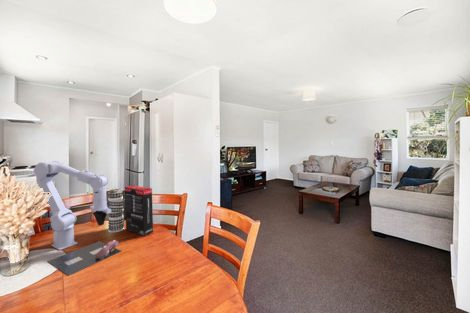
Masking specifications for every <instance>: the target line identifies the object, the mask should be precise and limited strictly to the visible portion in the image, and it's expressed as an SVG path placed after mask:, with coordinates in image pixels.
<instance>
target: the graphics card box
mask: <svg viewBox="0 0 470 313" xmlns="http://www.w3.org/2000/svg"><path fill="white" fill-rule="evenodd" d="M124 208H125V209H124V210H125V230H126V231H127V232H128V231H129V232H131V233H134V234H137V235H140V236H143V237H145V236H147V235H150V234H151V233H153V232H154V222H153V220H154V217H153V188H152V187H145V186H137V185H133V184H132V185H126V186H124Z"/></svg>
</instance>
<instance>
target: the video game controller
mask: <svg viewBox="0 0 470 313" xmlns="http://www.w3.org/2000/svg"><path fill="white" fill-rule="evenodd" d="M105 244H106V245H105V246H104V247H103V248H102V249H101V250H100V251H99V252H98V253H96V255H95V258H101V257H102V256H103V255H104V256H107V255H108V254H109V252H110V253H111V252H112V251H113V250H114V249H115V248H116V249H117V247H118V245H119V241H118V240H116V239H114V240H112V241H108V242H107V243H105Z"/></svg>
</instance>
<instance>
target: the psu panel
mask: <svg viewBox="0 0 470 313" xmlns="http://www.w3.org/2000/svg"><path fill="white" fill-rule="evenodd" d="M106 244H107V243H104V242H102V241H100V240H99V241H97V242H94V243H91V244H89V245H86V246H83V247H80V248H78V249H75V250H74V251H70V252H67V253H65V254H63V255H60V256H57V257H54V258H52V259H49V260H47V262H48V264H50V265H52V266H53V267H54V268H57V269H58V270H59V271H60V272H62V273H63V274H65V275H67V276H71V275H73V274H75V273H77V272H80V271H82V270H85V269H86V268H88V267H90V266H91V267H92V265H95V264H98V263H99V262H102V261H104V260H106V259H109V258H111V257H112V256H114V255H117V254H119V253H121V252H122V250H120V249H118V248H117V247H116V248H115V249H114V250H113V251H112V252H111V253H110V252H109V254H108V255H107V256H104V255H103V256H102V257H101V258H95V255H96V253H98V252H99V251H100V250H101V249H102V248H103V247H104V246H105V245H106Z"/></svg>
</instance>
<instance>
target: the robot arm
mask: <svg viewBox="0 0 470 313" xmlns="http://www.w3.org/2000/svg"><path fill="white" fill-rule="evenodd" d="M33 172H34V174H35V178H36V184H37V186H38V187H40V188H43V190H44V192H50V193H52V196H51V197H50V199H49V201H48V203H47V205H48V204H49V205H50V206H49V205H48V208H49V209H50V212H51V213H52V214H51V217H50V218H49V220H50V226H51V228H52V230H54V231H53V232H52V233H53V244H51V246H52V247H53V248H55V249H56V250H58V251H61V250H64V249H67V248H69V247H73V246H76V245H78V243H79V242H77V241H75V231H74V227H75V223H76V222H77V216H76V214H74V213H73V211H72V210H71V209H69V208H66V206H65V203H64V202H63V200H62V198H61V196H60V194H59V192H58V190H57V188H56V186H55V184H54V182H53V181H54V179H55V178H56V176H57V175H59V174H60V173H62V174H65V175H68V176H72V177H75V178H77V180H78V181H79V182H82V183H85V184H86V185H89V186H90V187H91V188H92V195H93V196H92V197H93V199H92V200H93V204H92V205H90V206H89V208H90V211H92V215H93V217H94V218H95V220H96V223H97V226H99V227H100V226H101V227H102V225H104V224H105V220H106V217H107V215H109V213H111V209H109V208H108V207H107V206H108V205H107V200H108V196H107V185H108V183H109V178H108V177H107V176H106V175H104V174H101V175H99V174H98V173H93V172H90V170H89V169H84V170H83V169H82V170H78V169H77V168H74V167H72V166H69V165H67V164H65V162H60V161H57V160H53V161H49V162H39V163H37V164H36V165H35V167H34V168H33ZM40 188H39V189H40Z"/></svg>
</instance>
